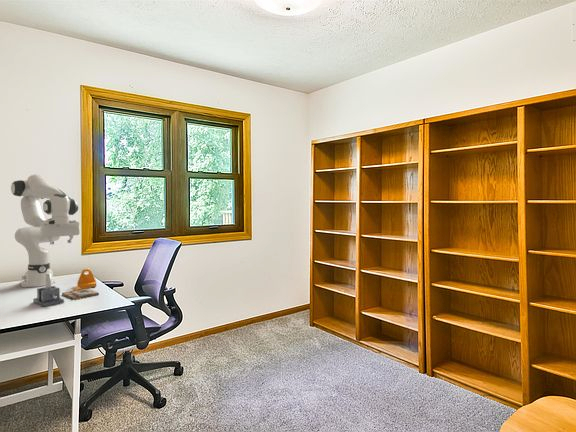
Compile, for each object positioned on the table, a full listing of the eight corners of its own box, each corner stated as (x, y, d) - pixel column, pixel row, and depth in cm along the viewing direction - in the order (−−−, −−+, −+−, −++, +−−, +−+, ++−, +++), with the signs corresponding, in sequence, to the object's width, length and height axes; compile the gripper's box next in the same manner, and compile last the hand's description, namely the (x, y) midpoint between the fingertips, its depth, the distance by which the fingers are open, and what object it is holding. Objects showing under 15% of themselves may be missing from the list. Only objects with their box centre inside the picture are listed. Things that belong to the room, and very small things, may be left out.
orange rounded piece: (77, 289, 226) (77, 270, 225) (77, 286, 232) (77, 268, 232) (96, 287, 232) (96, 269, 231) (95, 285, 238) (95, 267, 237)
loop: (67, 292, 214) (67, 287, 214) (81, 289, 221) (81, 285, 221) (78, 296, 206) (78, 292, 205) (92, 293, 212) (92, 289, 212)
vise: (33, 302, 197) (32, 273, 196) (53, 298, 205) (53, 271, 204) (45, 308, 187) (44, 278, 186) (66, 303, 195) (65, 275, 194)
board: (62, 295, 212) (62, 293, 212) (86, 290, 223) (86, 288, 223) (73, 299, 203) (73, 297, 203) (98, 294, 214) (98, 292, 214)
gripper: (76, 219, 223) (76, 241, 224) (39, 221, 207) (39, 244, 208) (81, 220, 220) (81, 242, 220) (43, 221, 203) (43, 245, 204)
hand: (60, 243), depth 214 cm, fingers open, 8 cm apart
